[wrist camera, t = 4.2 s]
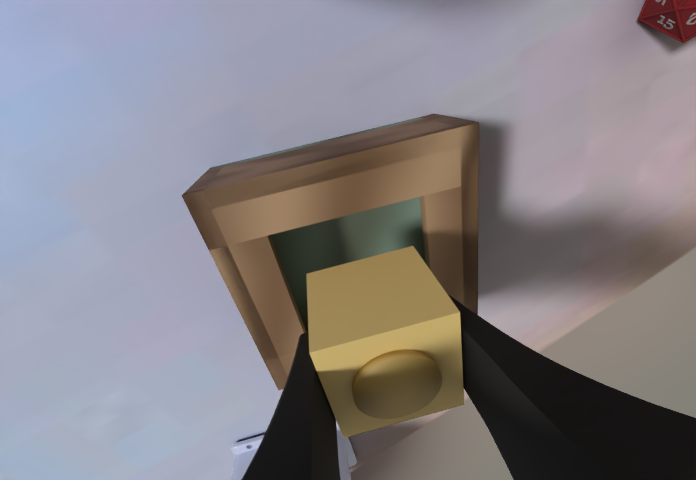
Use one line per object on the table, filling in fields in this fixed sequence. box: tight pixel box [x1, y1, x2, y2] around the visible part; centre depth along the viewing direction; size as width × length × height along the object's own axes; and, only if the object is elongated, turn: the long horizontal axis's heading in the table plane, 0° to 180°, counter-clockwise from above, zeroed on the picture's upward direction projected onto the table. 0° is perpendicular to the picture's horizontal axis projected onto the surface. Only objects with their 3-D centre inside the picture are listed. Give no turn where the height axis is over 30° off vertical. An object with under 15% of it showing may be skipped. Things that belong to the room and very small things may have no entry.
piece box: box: [182, 114, 479, 390], centre depth 17 cm, size 12×12×4 cm
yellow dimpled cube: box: [306, 246, 464, 438], centre depth 11 cm, size 4×4×4 cm
